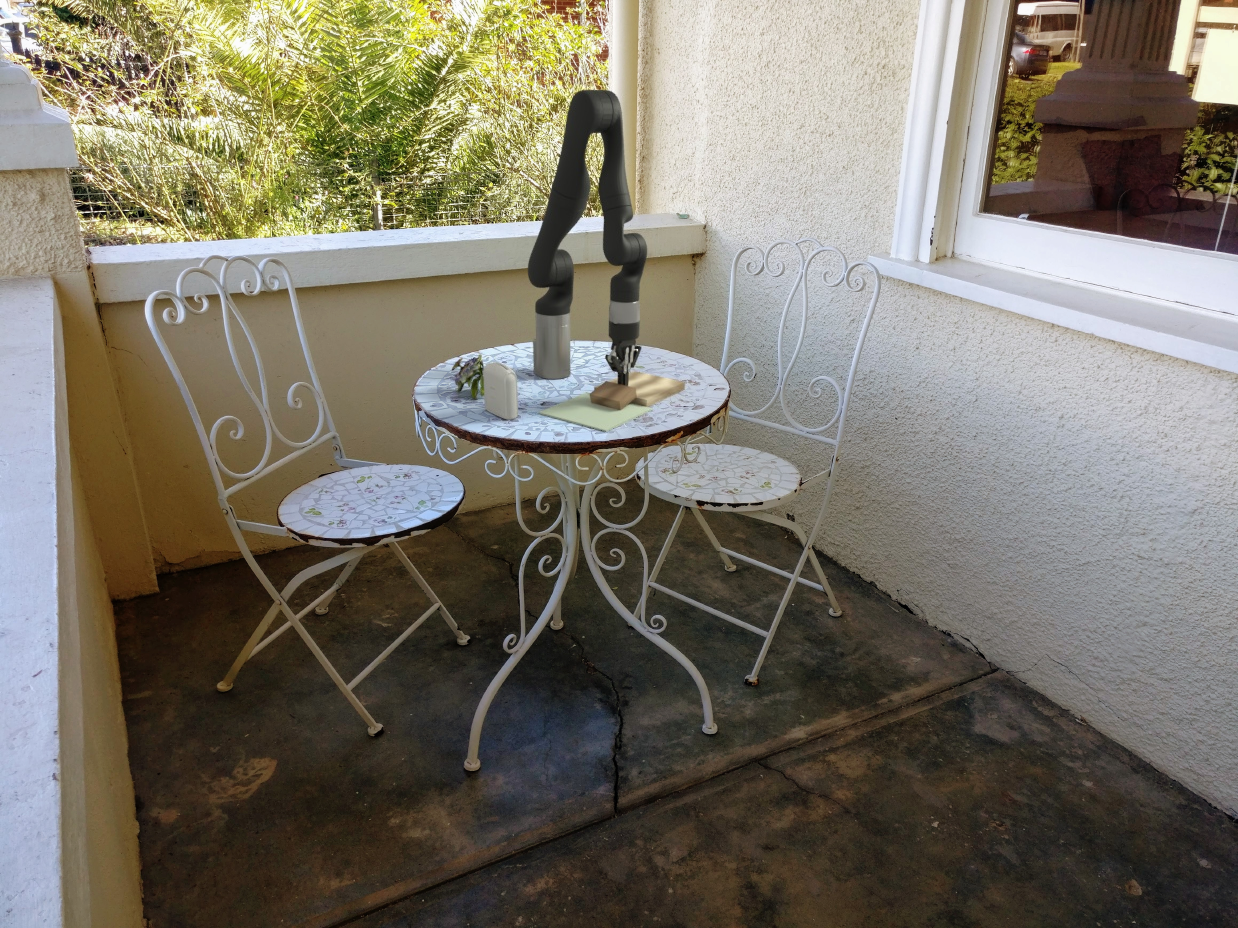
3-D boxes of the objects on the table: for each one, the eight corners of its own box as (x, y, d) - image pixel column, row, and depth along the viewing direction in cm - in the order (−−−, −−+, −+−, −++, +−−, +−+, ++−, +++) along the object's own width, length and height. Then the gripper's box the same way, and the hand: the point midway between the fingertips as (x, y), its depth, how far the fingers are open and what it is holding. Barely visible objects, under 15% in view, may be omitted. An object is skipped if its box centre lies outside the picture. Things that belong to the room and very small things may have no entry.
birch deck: (594, 394, 225) (594, 387, 224) (633, 378, 239) (634, 370, 238) (646, 407, 217) (646, 400, 216) (684, 389, 230) (685, 382, 229)
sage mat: (538, 413, 211) (538, 412, 211) (586, 393, 226) (586, 392, 226) (606, 432, 201) (606, 430, 201) (652, 409, 215) (652, 408, 215)
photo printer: (482, 409, 213) (480, 360, 208) (497, 406, 216) (495, 357, 211) (505, 421, 206) (503, 370, 201) (520, 418, 208) (519, 367, 204)
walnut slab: (591, 402, 218) (589, 394, 217) (607, 389, 223) (606, 380, 221) (620, 410, 213) (619, 401, 212) (636, 396, 218) (635, 387, 216)
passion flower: (461, 412, 227) (448, 369, 229) (502, 401, 229) (489, 358, 231) (460, 400, 216) (447, 355, 218) (503, 389, 218) (489, 344, 220)
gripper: (626, 311, 220) (625, 377, 227) (595, 321, 210) (595, 390, 217) (652, 315, 217) (649, 383, 223) (621, 326, 207) (620, 396, 213)
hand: (622, 386), depth 220 cm, fingers closed
